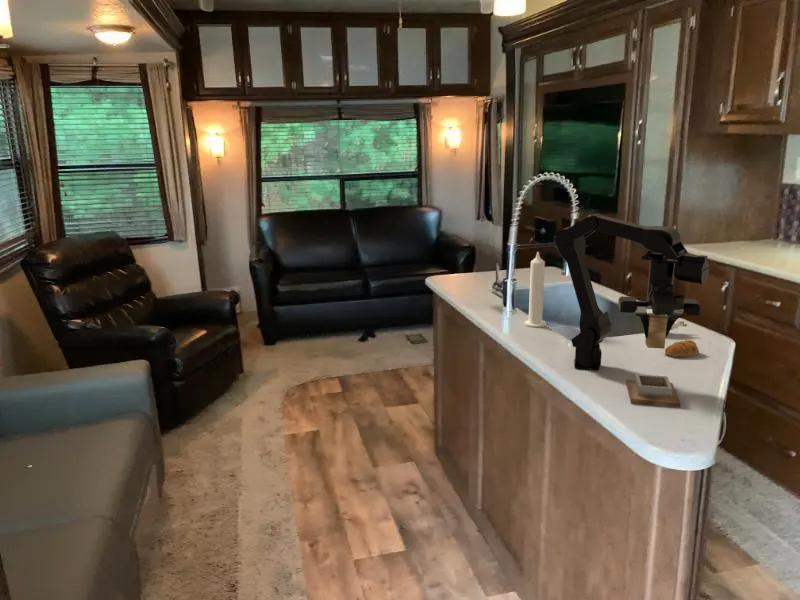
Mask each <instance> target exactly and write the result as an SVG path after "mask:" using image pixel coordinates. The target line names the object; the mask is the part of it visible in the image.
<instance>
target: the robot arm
mask: <svg viewBox="0 0 800 600" xmlns="http://www.w3.org/2000/svg"><path fill="white" fill-rule="evenodd" d="M594 232H600V233H604V234H606V235H610V236H614V237H617V238H622V239H625V240H628V241H632V242H635V243H637V244H639V245H640V246H642V247H643V248H645V249H646V250H648V251H647V252H646V253H645V254H644V255H642V256H641V260H646V261H649V269H648V281H647V290H646V291H647V292H646V300H637V299H636V297H635V296H623V295H622V296H620V297H619V298H618V300H617V307H618V310H619V312H620V313H625V314H626V313H627V314H628V313H629V314H631V313H632V314H633V313H634V315H635V316H636V317H639V319H640V322H641V325H642V329H643V333H644V337H645V339H646V338H647V337H648V313H647V310H651V311H652V312H651V313H653V314H654V315H666V317H667V327H666V338H665V340H667V337H668V335H669V333H670V331H671V330H672V328H671V327H672V326H673V324H674V323H675V321H677V320H678V319H682V318H684V317H685V316H684V314H683V313H685V315H686V316H701V313H702V311H701V310H702V305H701V304H700V303H699V301H698V300H696V299H695V298H685V296H684V294H674V279H676V280H677V281H678V282H680V283H681V282H683V283H689V284H697V285H705V284H706V283H707V281H708V279H709V275H710V270H711V269H710V264H709V261H708V256H707V255H704V254H701V255H696V254H689V252H688V250H687V249H686V247H685V245H684V244H683V243H682V241H681V235H680V233H679V231H678V229H676V228H675V227H672V226H659V225H642V224H639V223H634V222H629V221H626V220H621V219H618V218H614V217H609V216H606V215H602V214H601V213H594V214H589V215H587V216H586V217H585V218H584V219H582V220H581V221H579V222H577V223H575V224H572V225H570V226H568V227H565V228H561V229H559V230H557V232H556V233H555V235H554V236H553V237H554V238H553V241H554V244H555V248H556V249H557V251H558V253H559V255H560V256H561V257H562V259H564V260H565V262H566V264H567V268H568V271H569V274H570V278H571V282H572V285H573V288H574V289H573V290H574V291H575V292H574V293H575V296H576V299H577V304H578V306H579V311H580V315H579V316H580V317H579V323H578V324H579V333H578V334H577V335H576V336H574V337H572V338H571V339H570V340H571V344H572V347H573V348H575V352H574V359H573V363H574V364H573V365H574V369H580V370H593V371H599V370H600V366H601V364H602V354H603V353H602V348H601V346H600V344H601V343H603V341H604V339H606V338H608V336H610V333H611V330H612V326H613V324H612V322H611V320H610V315H609V314H610V313H609V312H608V311H605V312H603V310H601V309H600V308H599V305H598V301H597V298H596V294H595V291H594V287H593V284H592V280H591V277H590V273H589V269H588V266H587V262H586V258H585V254H586V248H587V247H586V246H587V245H586V238H588V237H589V236H590V235H592V234H593V233H594Z"/></svg>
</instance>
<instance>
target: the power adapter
mask: <svg viewBox="0 0 800 600" xmlns="http://www.w3.org/2000/svg"><path fill="white" fill-rule="evenodd" d="M687 326H688V324H686V323H685V321H677V320H676V321H675V323H674V324H673V326H672V327H671V329H678V328H679V327H687Z"/></svg>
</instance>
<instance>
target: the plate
mask: <svg viewBox="0 0 800 600" xmlns="http://www.w3.org/2000/svg"><path fill="white" fill-rule="evenodd" d="M634 381H635V379H626V382H625V385H626V389H627V394H628V398H629V402H630V404H632V405H633V404H634V405H635V404H636V405H646V406H647V405H648V406H657V407H658V406H659V407H668V408H669V407H671V408H681V401H680V400H681V399H680V398H679V396H678V394H677V392H676V389H675V386H674V384H673V382H670V384H671V387H672V396H671V398H661V397H649V396H638V395H637V391H636V388H635V384H634Z"/></svg>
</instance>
